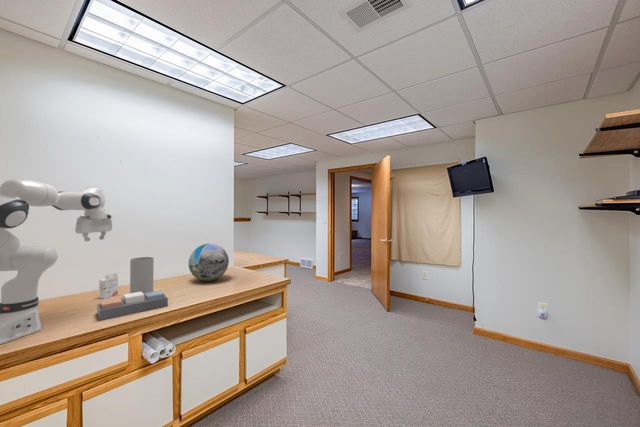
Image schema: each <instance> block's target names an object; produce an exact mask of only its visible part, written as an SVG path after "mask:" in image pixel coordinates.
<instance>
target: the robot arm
mask: <svg viewBox="0 0 640 427" xmlns="http://www.w3.org/2000/svg"><path fill="white" fill-rule="evenodd" d="M105 203H106V196H105V192H104V190H103V189H102V188H100V187H96V186H87V187H86V188H85V190H83V191H62V190H61V191H58V190H57V189H56V187H55V186H54V185H51V184H49V183H46V182H43V181H38V180H33V179H23V178H22V179H21V178H16V179H15V178H14V179H13V178H12V179H7V180H6V181H4V182H3V183H2V184H0V272H11V271H15V272H16V271H17V274H16V276H15V277H13V278H11V279H9V280H8V281H6V282H4V283H3V284H2V285H1V288H0V345H1V344H5V343H9V342H10V341H14V340H16V339H20V338H22V337H25V336H28V335H30V334H31V335H32V334H33V333H37V332H39V331H41V330H42V327H43V324H42V322H41V320H40V315H39V308H38V306H39V297H38V286H39V280H40V279H41V276H42V275H43V274H44V273H45V272H46V271H47V270H48V269H49V268H51V267H52V266H54V265H55V264H56V262H57V261H58V253H57V250H56V249H55V248H54V247H51V246H50V247H49V246H43V245H28V246H27V245H25V246H24V245H23V246H21V241H20V239H19V238H18V237H17V236H16V235H14V234H13V233H12V232H10V231H9V230H8V229H14V228H17V227H18V226H21V225H22V224H23V223H25V221H26V220H27V218H28V215H29V210H30V207H50V206H51V207H53V208H55V209H56V210H59V211H84V215H83V216H82V215H80V216H79V217H78V218H77V219H76V222H75V230H74V231H75V233H76V234H82V236H83V238H84V242H90V241H91V238H90V237H89V236H88V235H89V234H90V233H100V236H98V238H99V240H105V236H106V234H107V232H111V231H112V229H113V220H112V219H113V215H112V214H109V213H107V212H106V209H105Z"/></svg>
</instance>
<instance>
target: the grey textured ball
mask: <svg viewBox="0 0 640 427" xmlns="http://www.w3.org/2000/svg"><path fill="white" fill-rule="evenodd" d="M229 260H230V259H229V255H228V252H227V251H226V250H225V249H224V248H223V247H222V246H220V245H218V244H215V243H205V244H202V245H200V246H198V247H196V248H195V249H194V250H193V251H192V252H191V254H190V256H189V259H188V268H189V271H190V273H191V275H192V276H193V277H194V278H196V279H197V280H200V281H202V282H203V281H204V282H211V281H216V280H217V279H219V278H221V277H222V276H223V275H224V274H225V273H226V271H227V270H228V266H229V262H230V261H229Z"/></svg>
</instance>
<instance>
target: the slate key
mask: <svg viewBox="0 0 640 427" xmlns="http://www.w3.org/2000/svg"><path fill="white" fill-rule="evenodd" d="M164 295H165V293H164V291H162V290H155V291H153V292H149V293H145V299H146V300H147V301H148V300H153V299H158V298H163V297H164Z"/></svg>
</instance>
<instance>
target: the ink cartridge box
mask: <svg viewBox="0 0 640 427" xmlns="http://www.w3.org/2000/svg"><path fill="white" fill-rule="evenodd" d="M118 280H119V279H118V272H115V273H111V274H106V275H105V276H104V278H102V279H99V287H98V288H99V291H98V292H99V299H105V300H107V299H109V298H112V297H115V296H118V294H119V291H118V289H119V288H118V287H119V285H118V284H119V282H118Z"/></svg>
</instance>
